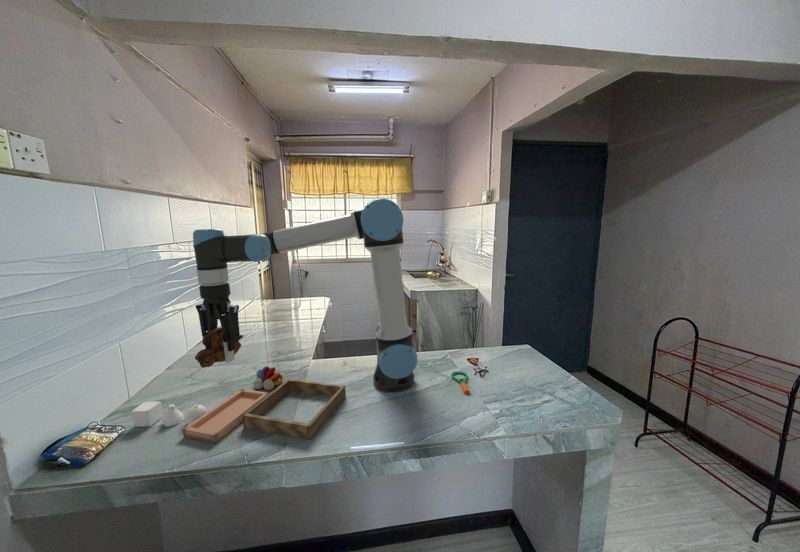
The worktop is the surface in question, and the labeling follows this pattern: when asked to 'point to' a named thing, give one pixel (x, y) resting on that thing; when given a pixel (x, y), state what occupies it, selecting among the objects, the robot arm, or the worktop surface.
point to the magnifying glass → (461, 381)
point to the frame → (292, 428)
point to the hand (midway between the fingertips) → (223, 360)
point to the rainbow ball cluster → (267, 378)
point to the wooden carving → (214, 348)
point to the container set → (153, 412)
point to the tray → (223, 416)
